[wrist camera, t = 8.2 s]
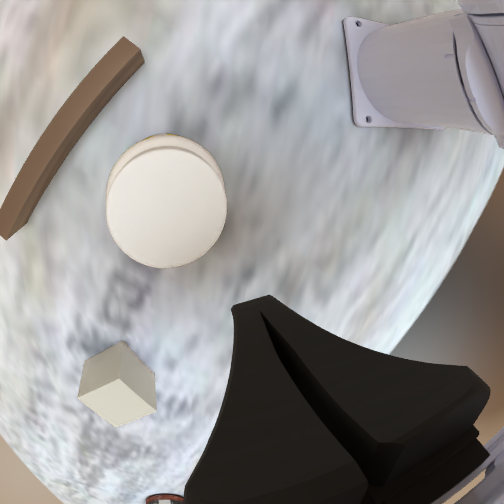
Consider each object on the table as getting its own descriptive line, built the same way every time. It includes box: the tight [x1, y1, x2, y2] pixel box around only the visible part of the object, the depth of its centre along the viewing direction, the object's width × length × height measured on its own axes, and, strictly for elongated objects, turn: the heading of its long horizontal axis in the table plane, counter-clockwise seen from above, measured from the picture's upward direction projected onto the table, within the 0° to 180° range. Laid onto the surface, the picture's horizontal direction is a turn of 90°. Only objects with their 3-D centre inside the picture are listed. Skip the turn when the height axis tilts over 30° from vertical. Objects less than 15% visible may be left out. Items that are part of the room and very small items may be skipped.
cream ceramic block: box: [78, 341, 157, 428], centre depth 19 cm, size 4×4×4 cm
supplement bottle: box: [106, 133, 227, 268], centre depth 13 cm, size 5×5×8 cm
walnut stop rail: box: [0, 36, 144, 240], centre depth 13 cm, size 1×12×3 cm, turn 136°
